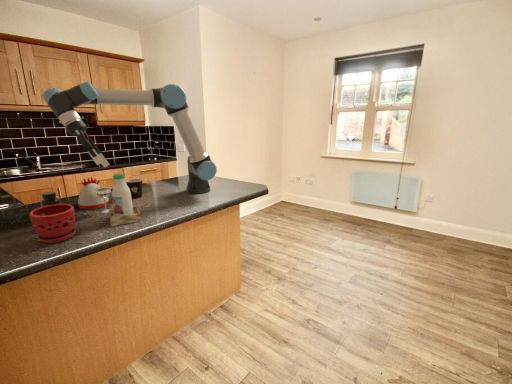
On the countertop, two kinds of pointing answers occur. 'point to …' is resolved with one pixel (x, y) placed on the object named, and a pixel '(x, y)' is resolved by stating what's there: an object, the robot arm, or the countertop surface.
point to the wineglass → (103, 195)
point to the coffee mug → (135, 187)
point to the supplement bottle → (49, 200)
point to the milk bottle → (121, 197)
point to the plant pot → (54, 222)
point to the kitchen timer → (90, 196)
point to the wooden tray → (125, 217)
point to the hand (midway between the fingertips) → (103, 164)
